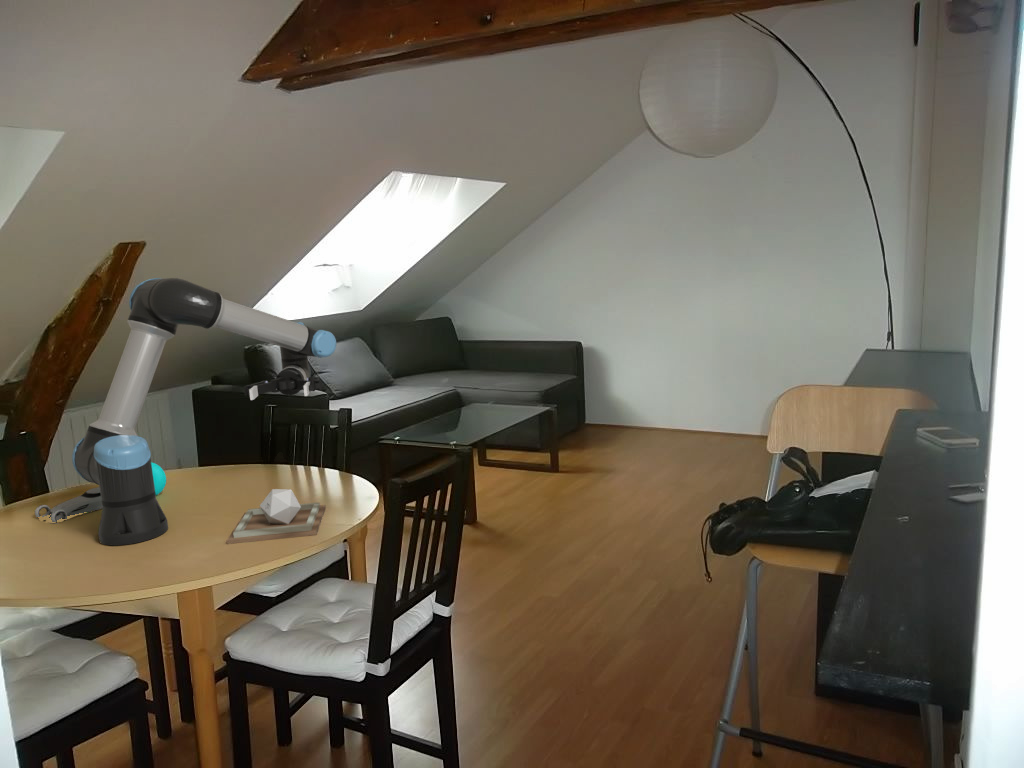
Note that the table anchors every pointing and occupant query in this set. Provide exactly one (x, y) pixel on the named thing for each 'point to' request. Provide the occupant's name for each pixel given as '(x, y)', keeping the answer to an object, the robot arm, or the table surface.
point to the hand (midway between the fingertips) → (278, 392)
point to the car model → (74, 505)
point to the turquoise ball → (158, 478)
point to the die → (280, 506)
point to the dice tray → (277, 525)
